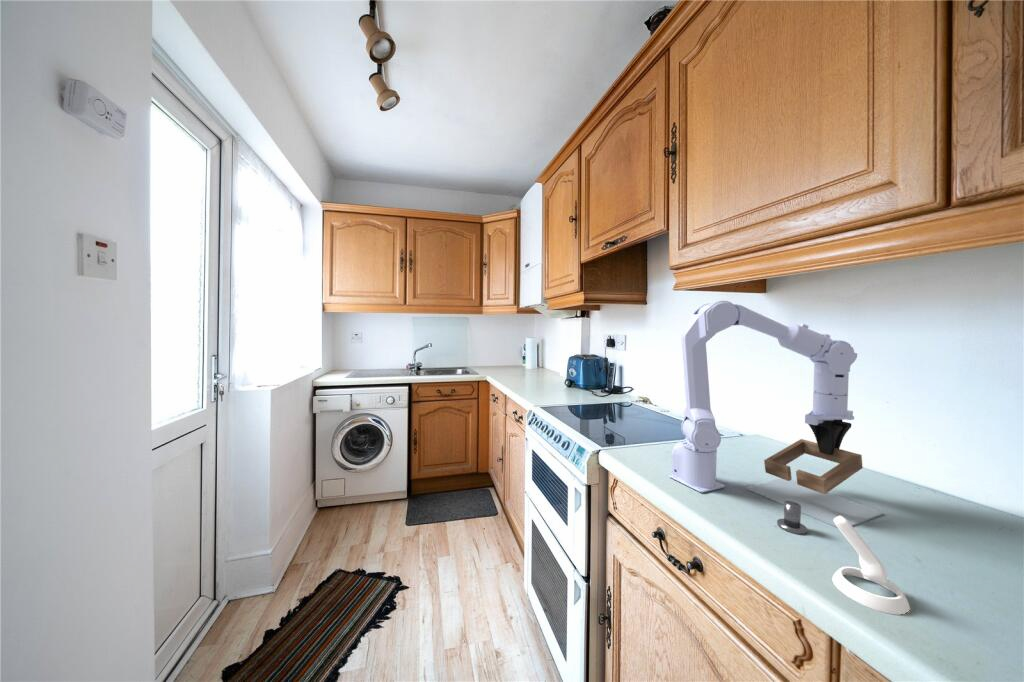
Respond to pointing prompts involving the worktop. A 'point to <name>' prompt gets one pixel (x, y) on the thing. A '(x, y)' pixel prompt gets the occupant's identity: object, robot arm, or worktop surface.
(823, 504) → the mat
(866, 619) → the worktop surface
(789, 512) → the post
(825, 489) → the wooden frame
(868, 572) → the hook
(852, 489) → the worktop surface
